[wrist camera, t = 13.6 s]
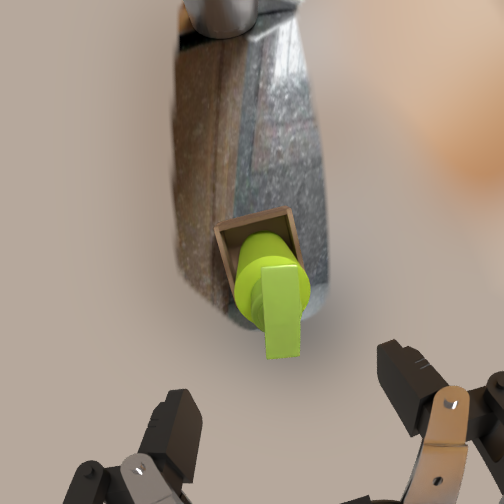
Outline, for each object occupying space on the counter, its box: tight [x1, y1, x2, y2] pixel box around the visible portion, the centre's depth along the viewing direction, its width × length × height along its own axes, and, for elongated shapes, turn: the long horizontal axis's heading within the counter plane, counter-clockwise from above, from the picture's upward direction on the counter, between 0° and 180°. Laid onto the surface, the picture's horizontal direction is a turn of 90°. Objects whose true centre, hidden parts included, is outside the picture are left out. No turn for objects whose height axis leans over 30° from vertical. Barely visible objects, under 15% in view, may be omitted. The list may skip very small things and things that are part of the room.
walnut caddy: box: [214, 206, 305, 308], centre depth 32 cm, size 9×8×5 cm
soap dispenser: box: [234, 231, 310, 359], centre depth 24 cm, size 6×7×20 cm
